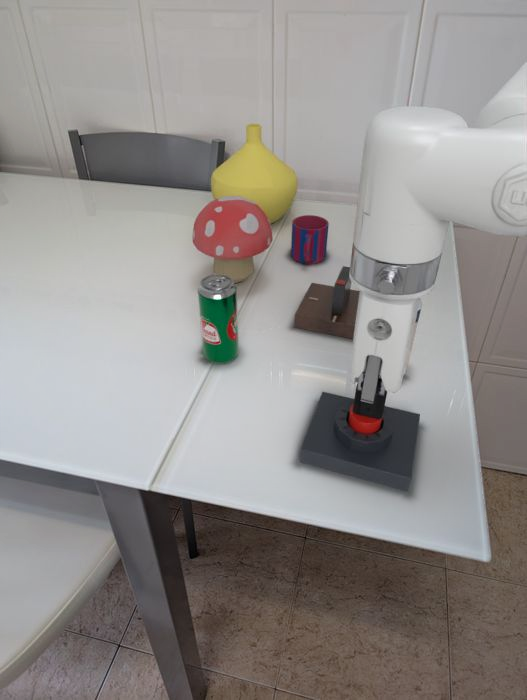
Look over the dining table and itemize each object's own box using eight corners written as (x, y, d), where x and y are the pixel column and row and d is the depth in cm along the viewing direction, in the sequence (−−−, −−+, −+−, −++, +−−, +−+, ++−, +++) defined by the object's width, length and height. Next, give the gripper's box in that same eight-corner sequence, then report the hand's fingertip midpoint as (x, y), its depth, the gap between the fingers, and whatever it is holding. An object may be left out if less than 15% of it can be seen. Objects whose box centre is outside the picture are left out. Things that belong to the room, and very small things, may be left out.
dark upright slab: (339, 293, 80) (343, 264, 76) (349, 295, 79) (353, 266, 76) (331, 313, 75) (334, 283, 72) (341, 315, 75) (345, 285, 72)
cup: (328, 250, 97) (331, 217, 93) (319, 274, 90) (322, 240, 85) (294, 246, 99) (296, 213, 94) (283, 269, 91) (284, 235, 87)
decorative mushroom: (262, 259, 94) (263, 181, 85) (280, 296, 84) (282, 211, 74) (192, 267, 92) (184, 186, 82) (201, 305, 81) (193, 219, 72)
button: (382, 415, 57) (385, 404, 56) (377, 438, 54) (380, 427, 53) (351, 408, 58) (353, 397, 57) (345, 430, 55) (347, 419, 54)
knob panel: (381, 307, 81) (384, 293, 79) (371, 343, 74) (374, 328, 72) (310, 294, 84) (311, 281, 83) (293, 327, 77) (294, 313, 75)
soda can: (197, 352, 72) (189, 280, 64) (226, 339, 74) (222, 268, 67) (216, 370, 69) (210, 296, 61) (245, 356, 71) (244, 284, 64)
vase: (195, 223, 107) (187, 129, 95) (242, 196, 119) (240, 110, 107) (268, 243, 99) (269, 144, 88) (310, 212, 112) (316, 121, 100)
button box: (416, 426, 60) (423, 403, 58) (407, 491, 53) (414, 467, 51) (321, 403, 64) (323, 380, 61) (299, 462, 56) (301, 438, 54)
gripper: (431, 316, 37) (393, 472, 48) (443, 234, 48) (409, 376, 59) (332, 299, 39) (318, 453, 50) (366, 224, 50) (348, 364, 61)
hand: (368, 411), depth 55 cm, fingers closed
